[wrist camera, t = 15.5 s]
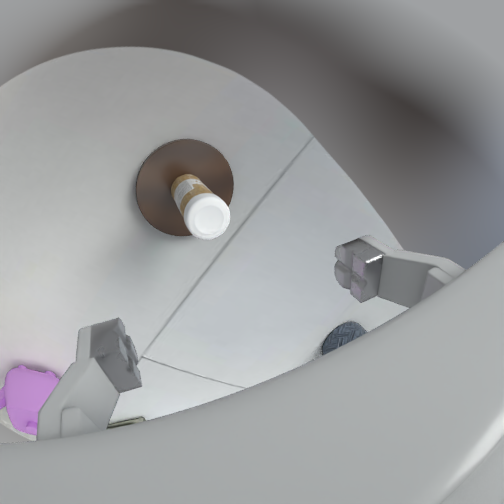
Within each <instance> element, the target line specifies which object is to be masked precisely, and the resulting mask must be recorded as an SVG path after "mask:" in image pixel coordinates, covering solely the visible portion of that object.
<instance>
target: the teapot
mask: <svg viewBox="0 0 504 504" xmlns="http://www.w3.org/2000/svg"><path fill="white" fill-rule="evenodd" d="M59 381H60V380H59V379H58V378H56V375H55V374H54V373H53V372H51V371H46V372H45V373H42V372H39V371H35V370H30V369H27V368H26V367H25V366H23V365H19V366H18V368H13V369H11V370H10V371H9V372H8V373H7V375H6V378H5V386H4V387H3V388H2V389H1V390H0V409H2V408H3V407H5V406H6V408H7V412H8V415H9V418H10V420H11V422H12V424H13V426H14V427H15V428H16V429H17V430H19V431H22V432H25V433H28V434H32V435H36V436H37V421H38V412H39V410H40V409H41V407H42V406H43V404H44V403H45V401H46V400H47V398H48V397H49V395H50V394H51V392H52V391H53V389H54V388H55V386H56V385H57V384H58V382H59Z"/></svg>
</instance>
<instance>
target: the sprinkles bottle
mask: <svg viewBox="0 0 504 504" xmlns="http://www.w3.org/2000/svg"><path fill="white" fill-rule="evenodd" d="M171 194H172V197H173V199H174V200H175V202H176V204H177V206H178V208H179V210H180V212H181V214H182V216H183V217H184V221H185V224H186V226H187V228H188V230H189V231H190V232H191V234H192V235H194V236H195V237H197V238H199V239H202V240H211V239H215V238H217V237H219V236H220V235H222V234H223V233H224V232H225V230H226V229H227V227H228V225H229V223H230V210H229V208H228V206H227V205H226V203H225V202H224V201H223V200H222V199H221V198H220V197H218V196H217V195H214V194H213V193H212V192H211V191H210V190H209V189H208V188H207V187H206V186H205V185H204V184H203V183H202V182H201V181H200V180H199V179H198V178H197V177H196V176H194V175H191V174H185V175H182V176H180V177H178V178H177V179H176V180H175V181H174V182H173V184H172V187H171Z"/></svg>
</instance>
